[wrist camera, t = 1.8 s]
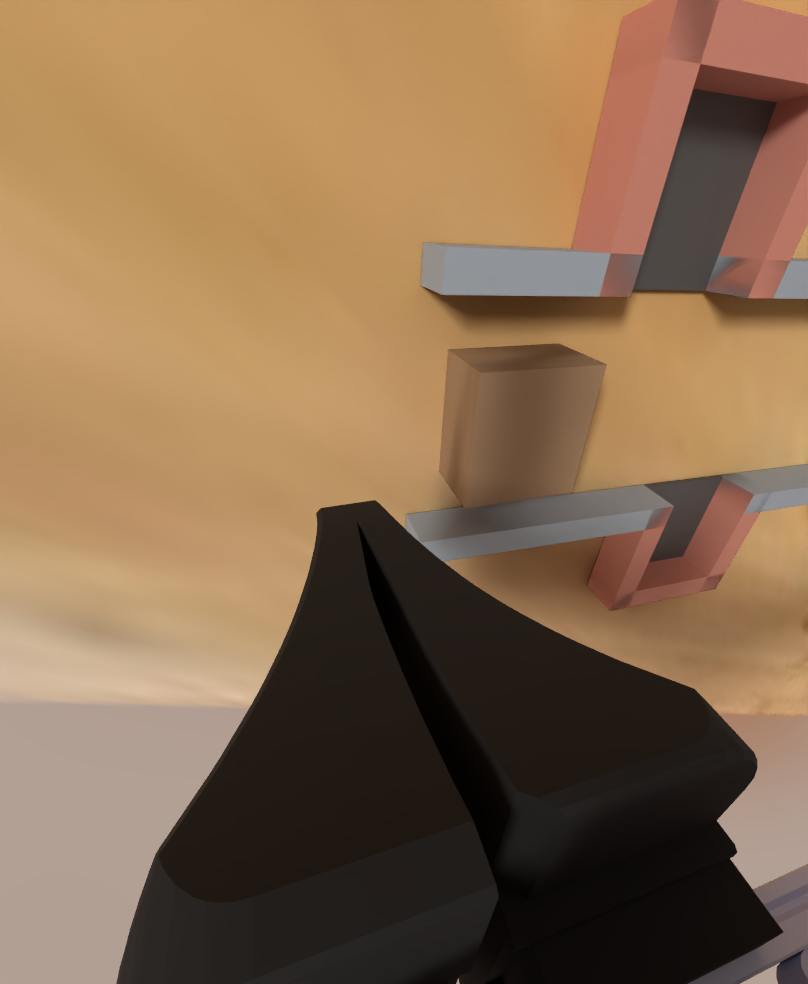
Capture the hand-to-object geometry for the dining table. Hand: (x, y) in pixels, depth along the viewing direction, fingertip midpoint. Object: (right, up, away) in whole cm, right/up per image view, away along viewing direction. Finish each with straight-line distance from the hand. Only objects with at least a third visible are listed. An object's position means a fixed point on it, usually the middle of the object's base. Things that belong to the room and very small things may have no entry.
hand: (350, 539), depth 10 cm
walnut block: (+5, +4, +8) cm, 10 cm away
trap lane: (+14, +5, +10) cm, 18 cm away
